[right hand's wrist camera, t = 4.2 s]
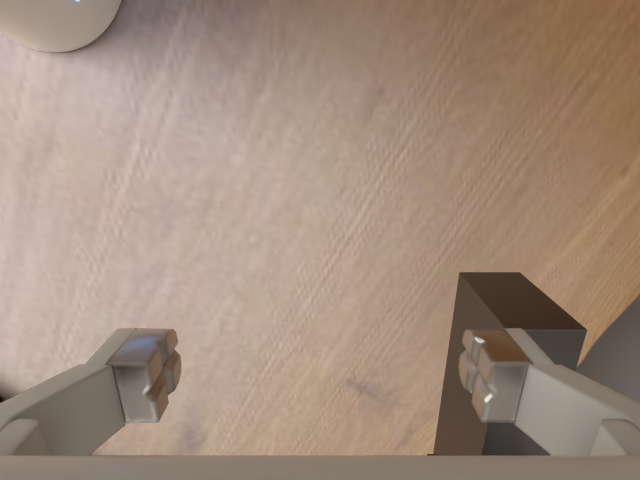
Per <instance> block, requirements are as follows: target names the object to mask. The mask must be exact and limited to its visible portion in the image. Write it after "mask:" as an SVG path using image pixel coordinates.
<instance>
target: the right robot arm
mask: <svg viewBox="0 0 640 480" xmlns="http://www.w3.org/2000/svg"><path fill="white" fill-rule="evenodd" d="M121 2H122V0H0V33H1V34H2V35H4V36H5V37H7V38H9V39H10V40H12V41H14V42H16V43H18V44H20V45H23V46H25V47H28V48H31V49H34V50H38V51H44V52H67V51H72V50H76V49H79V48H81V47H84V46H86V45H88V44H89V43H91V42H93V41H94V40H95V39H97V38H98V37H99V36H100V35H101V34H102V33H103V32H104V31H105V30H106V29H107V28H108V26H109V25H110V24H111V22H112V21H113V19H114V17H115V15H116V13H117V11H118V9H119V7H120V4H121ZM177 343H178V339H177V334H176V331H174V330H173V329H149V328H138V329H137V328H120V329H117V330H116V331H115V332H114V333H113V334H112V335H111V336H110V337H109V338H108V339H107V340H106V342H105V343H104V344H103V345H102V346H101V347H100V348H99V349H98V350H97V352H96V353H95V354H94V355H93V356H92V357H91V358H90V359H89V360H88V362H87V363H86V364H85V365H77V366H75V367H73V368H71V369H69V370H67V371H65V372H63V373H61V374H59V375H57V376H55V377H53V378H51V379H48V380H46V381H44V382H42V383H40V384H38V385H36V386H34V387H32V388H30V389H28V390H26V391H24V392H22V393H20V394H18V395H16V396H14V397H12V398H10V399H8V400H6V401H4V402H2V403H0V480H640V403H638V402H636V401H634V400H632V399H630V398H628V397H626V396H624V395H622V394H620V393H618V392H616V391H614V390H612V389H610V388H608V387H606V386H604V385H602V384H600V383H598V382H595V381H593V380H591V379H589V378H587V377H585V376H583V375H581V374H579V373H577V372H575V371H573V370H571V369H569V368H567V367H565V366H563V365H555V364H554V363H553V362H552V360H551V359H550V358H549V357H548V356H547V355H546V354H545V353H544V352H543V350H542V349H541V348H540V347H539V346H538V345H537V344H536V343H535V342H534V340H533V339H532V338H531V337H530V336H529V335H528V334H527V333H526V332H525V331H524V330H523V329H521V328H503V329H467V330H465V332H464V334H463V339H462V343H463V345H464V347H465V348H466V350H465V351H464V352H463V353H462V354H461V355H460V358H459V375H460V379H461V382H462V385H463V387H464V389H465V390H466V391H467V392H469V393H470V394H471V395H472V401H471V403H472V405H473V407H474V409H475V411H476V413H477V415H478V417H479V418H480V420H481V422H490V423H515V425H516V426H517V427H518V428H519V429H520V430H522V431H523V432H524V433H525V434H526V435H528V436H529V437H530V438H531V439H532V440H534V441H535V442H536V443H537V444H538V445H540V446H541V447H542V448H543V449H544V450H546V451H547V452H548V453H549V454H550V455H547V456H421V455H364V456H111V455H90V454H91V453H92V452H93V451H94V450H96V449H97V448H98V447H99V446H100V445H102V444H103V443H104V442H105V441H107V440H108V439H109V438H110V437H111V436H113V435H114V434H115V433H116V432H117V431H119V430H120V429H121V428H122V427H123V426H125V423H149V422H159V421H160V419H161V417H162V415H163V413H164V411H165V409H166V407H167V405H168V403H169V401H168V395H169V394H170V393H171V392H173V391H174V390H175V389H176V387H177V385H178V383H179V379H180V374H181V358H180V355H179V354H178V353H177V352H176V351H175V350H174V348H175V347H176V345H177Z"/></svg>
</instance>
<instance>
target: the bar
mask: <svg viewBox="0 0 640 480" xmlns="http://www.w3.org/2000/svg"><path fill="white" fill-rule="evenodd" d="M503 328H521V329H523V330H524V331H525V332H526V333H527V334H528V335H529V336H530V337H531V338H532V339H533V340H534V342H535V343H536V344H537V345H538V346H539V347H540V348H541V349H542V350H543V352H544V353H545V354H546V355H547V356H548V357H549V358H550V359H551V360H552V362H553V363H554V364H555V365H563V366H565V367H567V368H569V369H571V370H573V371H575V370H576V366H577V363H578V360H579V356H580V353H581V349H582V346H583V342H584V339H585V335H586V332H587V329H585V328H584V327H583V326H582V325H581V324H580V323H578V322H577V321H576V320H575V319H574V318H573V317H571V316H570V315H569V314H568V313H567V312H565V311H564V310H563V309H562V308H561V307H560V306H558V305H557V304H556V303H555V302H554V301H553V300H551V299H550V298H549V297H548V296H547V295H545V294H544V293H543V292H542V291H541V290H540V289H538V288H537V287H536V286H535V285H534V284H533V283H531V282H530V281H529V280H528V279H527V278H526V277H524V276H523V275H522V274H521V273H519V272H460V273H459V279H458V286H457V293H456V300H455V307H454V314H453V321H452V328H451V335H450V342H449V349H448V356H447V363H446V370H445V377H444V383H443V390H442V397H441V404H440V411H439V418H438V425H437V432H436V439H435V446H434V453H433V454H435V456H547V455H550V454H549V453H548V452H547V451H546V450H544V449H543V448H542V447H541V446H540V445H538V444H537V443H536V442H535V441H534V440H532V439H531V438H530V437H529V436H528V435H526V434H525V433H524V432H523V431H522V430H520V429H519V428H518V427H517V426H516V425H515V423H490V422H481V420H480V418H479V417H478V415H477V413H476V411H475V409H474V407H473V405H472V403H471V401H472V395H471V394H470V393H469V392H467V391H466V390H465V389H464V387H463V385H462V382H461V379H460V375H459V358H460V355H461V354H462V353H463V352H464V351H465V350H466V348H465V347H464V345H463V343H462V339H463V334H464V332H465V330H467V329H503Z"/></svg>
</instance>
